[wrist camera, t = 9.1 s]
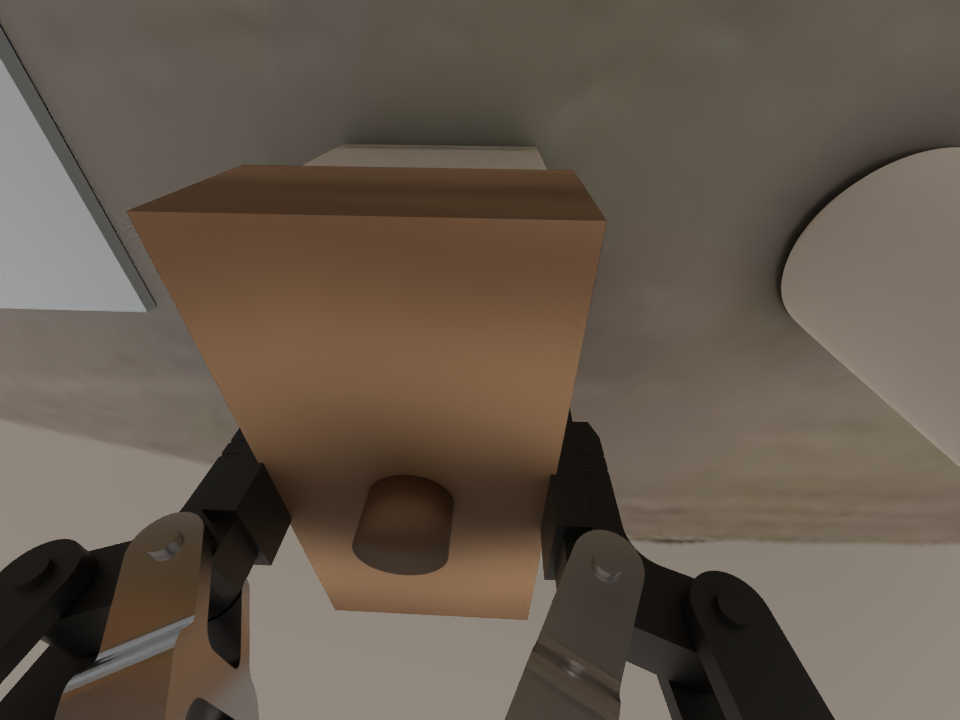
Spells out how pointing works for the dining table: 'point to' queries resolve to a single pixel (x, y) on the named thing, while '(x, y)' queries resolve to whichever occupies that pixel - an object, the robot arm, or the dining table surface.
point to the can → (890, 288)
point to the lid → (393, 361)
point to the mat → (53, 215)
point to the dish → (432, 156)
